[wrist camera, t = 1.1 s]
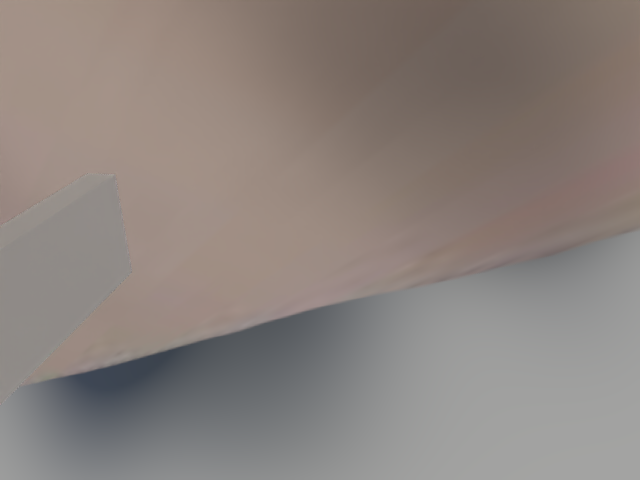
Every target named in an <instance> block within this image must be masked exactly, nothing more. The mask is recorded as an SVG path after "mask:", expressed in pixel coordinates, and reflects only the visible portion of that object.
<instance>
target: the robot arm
mask: <svg viewBox="0 0 640 480" xmlns="http://www.w3.org/2000/svg"><path fill="white" fill-rule="evenodd" d="M131 273H132V268H131V262H130V257H129V251H128V245H127V239H126V234H125V228H124V222H123V216H122V211H121V205H120V199H119V193H118V188H117V182H116V176H115V174H88V173H87V174H85V175H84V176H82V177H80V178H79V179H77V180H75V181H74V182H72V183H70V184H69V185H67V186H66V187H64V188H62V189H61V190H59V191H57V192H56V193H54V194H52V195H51V196H49V197H47V198H46V199H44V200H42V201H41V202H39V203H37V204H36V205H34V206H32V207H31V208H29V209H27V210H26V211H24V212H22V213H21V214H19V215H17V216H16V217H14V218H12V219H11V220H9V221H7V222H6V223H4V224H2V225H1V226H0V405H1V404H2V403H3V402H4V401H5V400H6V399H7V398H8V397H9V396H10V395H11V394H12V393H13V392H14V391H15V390H16V389H17V388H18V387H19V386H20V385H21V384H22V383H23V382H24V381H25V380H26V379H27V378H28V377H29V376H30V375H31V374H32V373H33V372H34V371H35V370H36V369H37V368H38V367H39V366H40V365H41V364H42V363H43V362H44V361H45V360H46V359H47V358H48V357H49V356H50V355H51V354H52V353H53V352H54V351H55V350H56V349H57V348H58V347H59V346H60V345H61V344H62V342H63V341H64V340H65V339H66V338H67V337H68V336H69V335H70V334H71V333H72V332H73V331H74V330H75V329H76V328H77V327H78V326H79V325H80V324H81V323H82V322H83V321H84V320H85V319H86V318H87V317H88V316H89V315H90V314H91V313H92V312H93V311H94V310H95V309H96V308H97V307H98V306H99V305H100V304H101V303H102V302H103V301H104V300H105V299H106V298H107V297H108V296H109V295H110V294H111V293H112V292H113V291H114V290H115V289H116V288H117V287H118V286H119V285H120V284H121V283H122V282H123V281H124V280H125V279H126V278H127V277H128V276H129V275H130V274H131Z"/></svg>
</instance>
